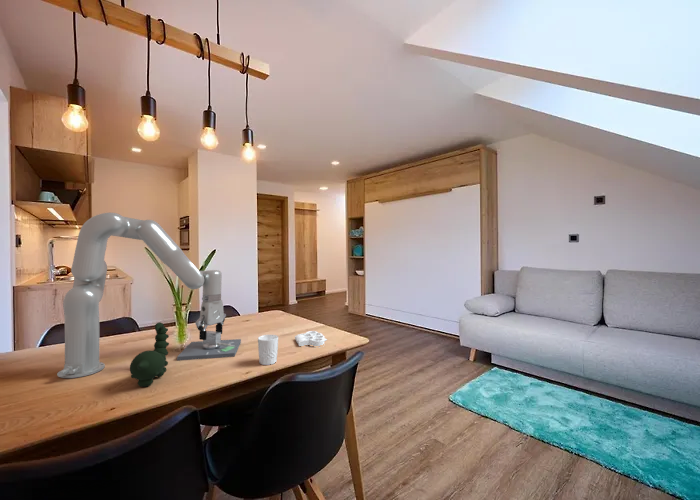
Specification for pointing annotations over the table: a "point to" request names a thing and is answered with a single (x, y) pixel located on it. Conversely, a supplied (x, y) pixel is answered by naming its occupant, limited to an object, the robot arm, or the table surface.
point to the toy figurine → (151, 359)
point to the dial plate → (198, 352)
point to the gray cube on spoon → (213, 340)
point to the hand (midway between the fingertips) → (211, 336)
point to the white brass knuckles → (310, 338)
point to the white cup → (267, 349)
